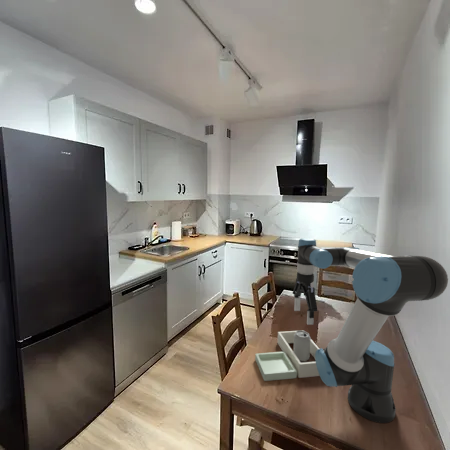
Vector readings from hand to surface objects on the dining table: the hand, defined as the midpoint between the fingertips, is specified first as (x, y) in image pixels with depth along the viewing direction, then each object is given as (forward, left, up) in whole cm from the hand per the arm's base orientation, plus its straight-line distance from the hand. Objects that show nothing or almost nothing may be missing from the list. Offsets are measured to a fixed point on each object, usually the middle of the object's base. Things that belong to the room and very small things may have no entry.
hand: (303, 317), depth 120 cm
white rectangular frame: (0, 0, -20) cm, 20 cm away
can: (0, 0, -20) cm, 20 cm away
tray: (-6, +15, -20) cm, 26 cm away
